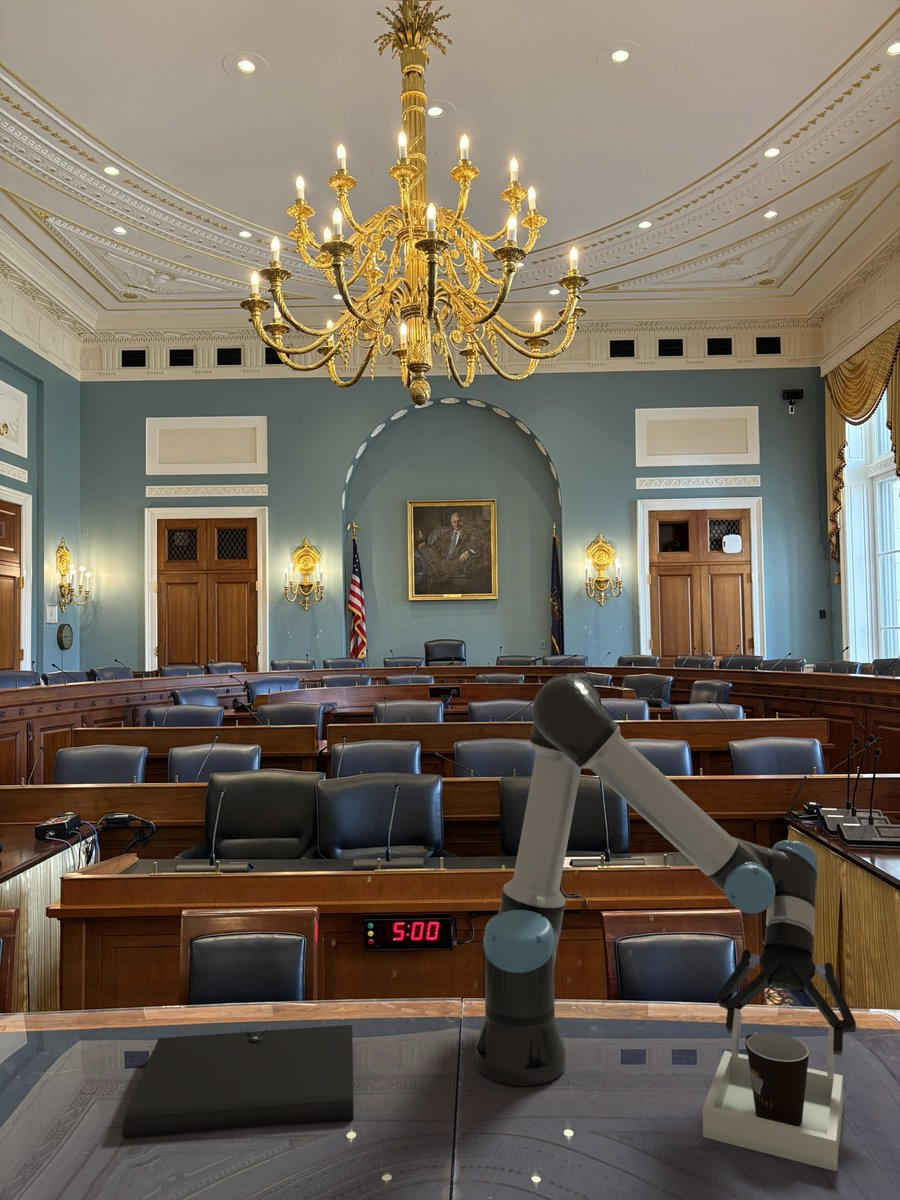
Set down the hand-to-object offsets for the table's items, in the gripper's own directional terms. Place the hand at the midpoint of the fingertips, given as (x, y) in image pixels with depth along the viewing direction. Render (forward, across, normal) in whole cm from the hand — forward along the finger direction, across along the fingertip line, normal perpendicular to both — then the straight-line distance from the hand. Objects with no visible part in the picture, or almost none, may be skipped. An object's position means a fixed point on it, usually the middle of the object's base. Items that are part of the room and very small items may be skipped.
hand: (780, 1065), depth 128 cm
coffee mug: (+6, 0, -2) cm, 6 cm away
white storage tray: (+7, +1, -2) cm, 7 cm away
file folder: (+27, +76, +17) cm, 83 cm away
